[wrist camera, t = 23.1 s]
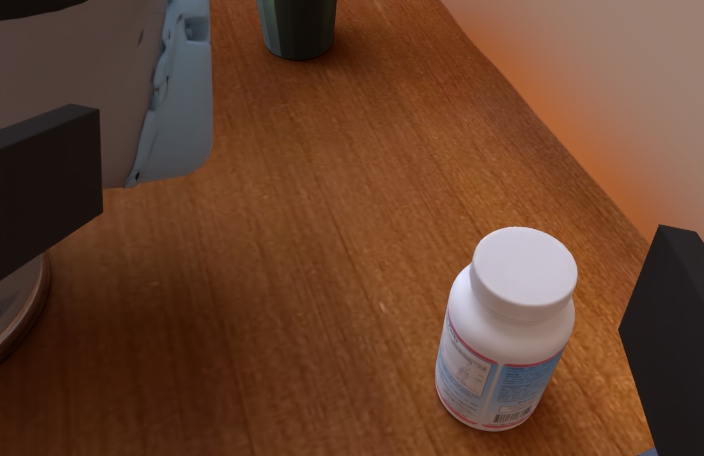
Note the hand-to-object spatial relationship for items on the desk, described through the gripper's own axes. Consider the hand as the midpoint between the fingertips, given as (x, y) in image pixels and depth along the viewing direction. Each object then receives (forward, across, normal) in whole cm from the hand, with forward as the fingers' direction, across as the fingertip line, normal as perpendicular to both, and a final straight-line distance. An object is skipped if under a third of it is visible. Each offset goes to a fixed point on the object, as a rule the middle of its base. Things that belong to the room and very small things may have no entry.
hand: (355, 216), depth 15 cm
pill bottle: (+18, +7, -17) cm, 25 cm away
